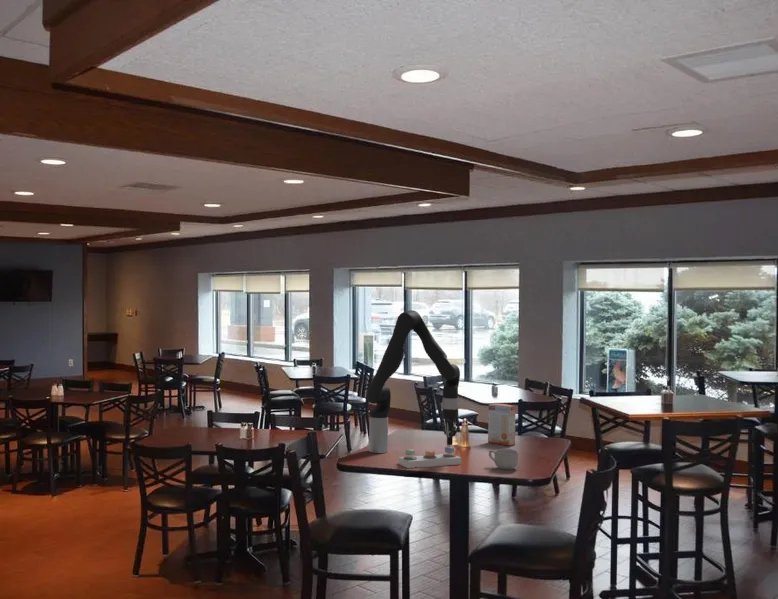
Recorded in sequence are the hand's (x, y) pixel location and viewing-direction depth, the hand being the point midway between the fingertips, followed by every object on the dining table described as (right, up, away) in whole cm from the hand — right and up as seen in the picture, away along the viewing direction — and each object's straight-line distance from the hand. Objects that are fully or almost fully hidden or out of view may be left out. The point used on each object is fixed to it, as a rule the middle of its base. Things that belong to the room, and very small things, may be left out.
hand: (449, 444), depth 348 cm
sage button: (-19, -3, -8) cm, 20 cm away
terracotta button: (-9, -4, -4) cm, 11 cm away
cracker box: (+32, -10, +51) cm, 61 cm away
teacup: (+23, -9, -10) cm, 27 cm away
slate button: (0, -3, 0) cm, 3 cm away
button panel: (-9, -8, -4) cm, 13 cm away
